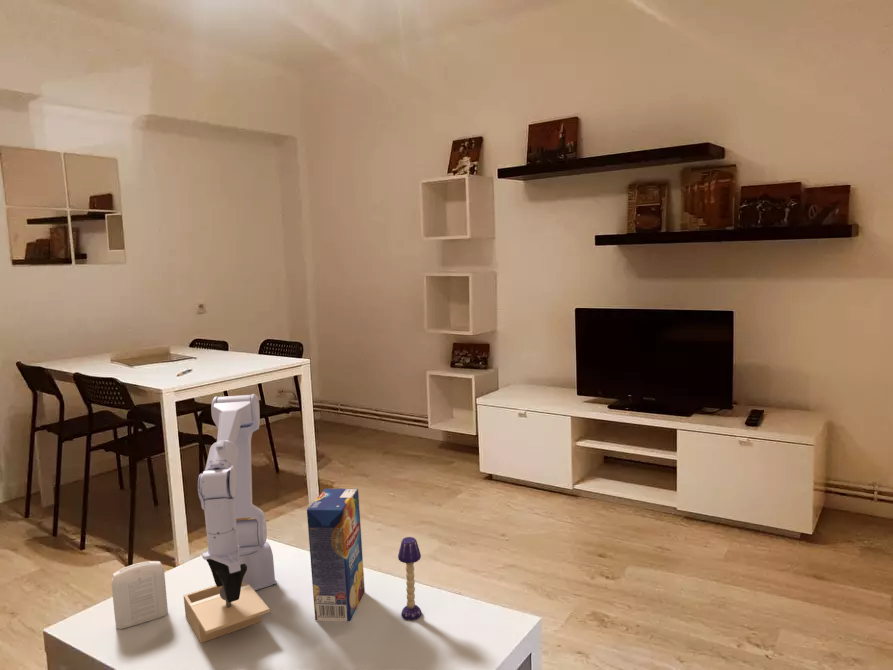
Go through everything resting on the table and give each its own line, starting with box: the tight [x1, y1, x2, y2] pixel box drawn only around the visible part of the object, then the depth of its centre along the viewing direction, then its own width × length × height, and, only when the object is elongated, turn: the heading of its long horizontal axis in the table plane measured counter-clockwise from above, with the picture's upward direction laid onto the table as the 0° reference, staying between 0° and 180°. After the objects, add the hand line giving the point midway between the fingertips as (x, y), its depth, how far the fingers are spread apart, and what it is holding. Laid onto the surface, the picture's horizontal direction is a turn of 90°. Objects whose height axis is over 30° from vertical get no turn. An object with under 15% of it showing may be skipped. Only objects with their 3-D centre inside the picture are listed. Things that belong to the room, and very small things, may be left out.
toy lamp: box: [397, 536, 422, 621], centre depth 138 cm, size 5×5×17 cm
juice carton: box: [306, 488, 366, 623], centre depth 143 cm, size 12×8×24 cm, turn 172°
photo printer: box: [111, 560, 169, 630], centre depth 142 cm, size 10×4×12 cm, turn 123°
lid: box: [189, 585, 271, 634], centre depth 135 cm, size 12×12×5 cm
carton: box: [183, 581, 261, 644], centre depth 141 cm, size 12×12×5 cm
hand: (227, 592), depth 135 cm, fingers open, 7 cm apart
